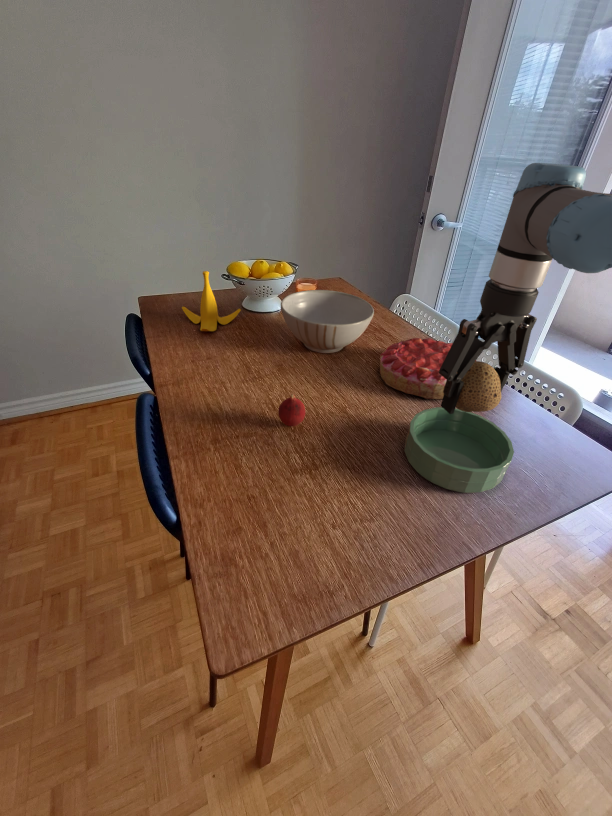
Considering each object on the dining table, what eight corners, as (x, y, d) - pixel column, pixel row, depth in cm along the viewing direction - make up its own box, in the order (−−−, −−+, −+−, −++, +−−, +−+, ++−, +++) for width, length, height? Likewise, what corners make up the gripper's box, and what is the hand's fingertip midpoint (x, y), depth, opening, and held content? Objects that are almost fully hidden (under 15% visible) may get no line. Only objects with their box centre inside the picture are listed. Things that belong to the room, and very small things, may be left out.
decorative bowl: (307, 373, 106) (310, 331, 99) (265, 333, 124) (265, 295, 117) (385, 355, 117) (393, 316, 110) (336, 320, 136) (340, 285, 129)
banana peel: (183, 315, 132) (177, 264, 122) (241, 317, 133) (239, 266, 123) (172, 337, 118) (164, 281, 108) (237, 339, 120) (234, 284, 110)
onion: (308, 430, 86) (311, 399, 82) (284, 436, 84) (285, 405, 80) (297, 415, 91) (299, 385, 86) (274, 421, 88) (274, 390, 84)
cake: (495, 386, 104) (503, 358, 100) (425, 414, 94) (431, 385, 89) (426, 351, 122) (431, 326, 118) (361, 371, 112) (363, 345, 107)
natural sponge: (502, 417, 73) (522, 370, 67) (470, 432, 69) (489, 383, 63) (463, 393, 79) (478, 348, 73) (431, 405, 75) (445, 358, 69)
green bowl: (524, 480, 78) (536, 458, 74) (442, 505, 71) (451, 482, 68) (459, 422, 92) (466, 400, 89) (386, 438, 86) (391, 416, 82)
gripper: (545, 271, 66) (499, 385, 79) (438, 280, 59) (407, 403, 72) (585, 287, 61) (528, 406, 74) (472, 298, 53) (431, 428, 67)
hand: (468, 405), depth 73 cm, fingers closed on natural sponge, 9 cm apart
